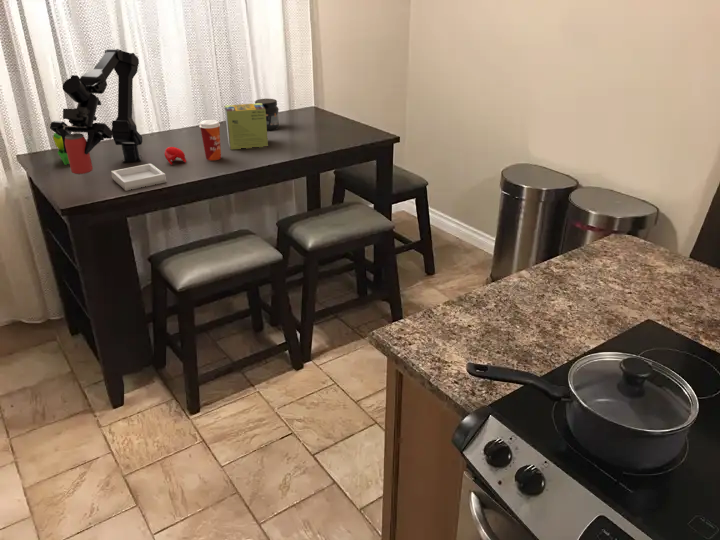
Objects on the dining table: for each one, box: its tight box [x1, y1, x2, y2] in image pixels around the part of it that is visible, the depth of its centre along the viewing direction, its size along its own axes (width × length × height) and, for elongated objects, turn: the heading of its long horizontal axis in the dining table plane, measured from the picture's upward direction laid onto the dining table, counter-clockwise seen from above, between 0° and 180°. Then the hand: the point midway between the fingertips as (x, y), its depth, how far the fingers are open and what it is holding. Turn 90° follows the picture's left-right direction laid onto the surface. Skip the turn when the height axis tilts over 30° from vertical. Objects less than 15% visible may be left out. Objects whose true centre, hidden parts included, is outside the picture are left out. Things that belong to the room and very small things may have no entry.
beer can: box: [65, 132, 94, 175], centre depth 197 cm, size 7×7×12 cm
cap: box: [164, 146, 187, 166], centre depth 228 cm, size 8×6×6 cm
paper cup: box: [199, 119, 222, 161], centre depth 230 cm, size 8×8×14 cm
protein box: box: [223, 102, 269, 151], centre depth 245 cm, size 10×15×16 cm
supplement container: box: [254, 98, 280, 131], centre depth 268 cm, size 10×10×12 cm
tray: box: [110, 162, 167, 192], centre depth 211 cm, size 14×14×3 cm
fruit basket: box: [52, 132, 70, 166], centre depth 227 cm, size 11×9×11 cm
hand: (75, 153), depth 195 cm, fingers closed on beer can, 6 cm apart
